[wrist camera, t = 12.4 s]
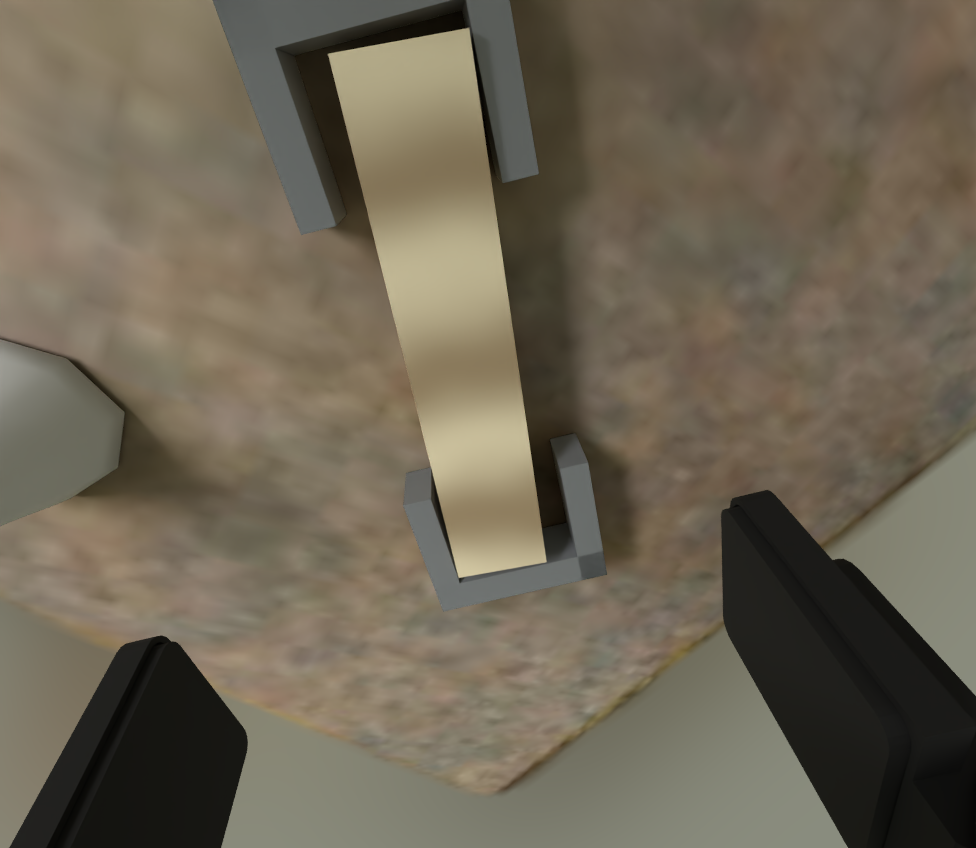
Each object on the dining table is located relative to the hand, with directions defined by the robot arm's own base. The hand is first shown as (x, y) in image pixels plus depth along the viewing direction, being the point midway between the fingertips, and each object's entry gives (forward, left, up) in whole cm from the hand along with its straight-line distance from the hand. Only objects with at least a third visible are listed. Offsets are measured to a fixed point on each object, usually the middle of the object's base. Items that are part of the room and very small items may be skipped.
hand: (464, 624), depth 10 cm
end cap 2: (+10, 0, -15) cm, 18 cm away
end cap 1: (-8, 0, -15) cm, 18 cm away
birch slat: (+1, 0, -16) cm, 16 cm away
